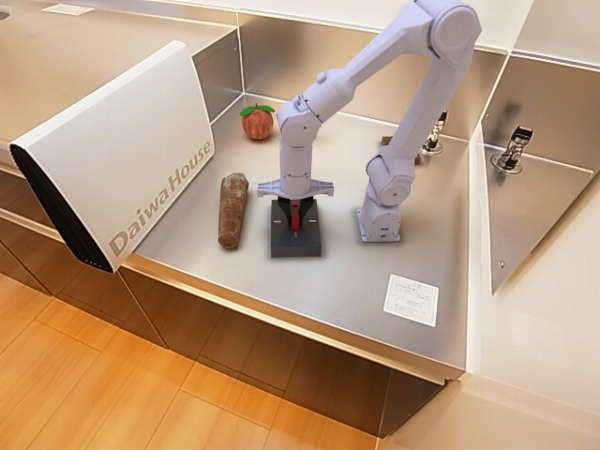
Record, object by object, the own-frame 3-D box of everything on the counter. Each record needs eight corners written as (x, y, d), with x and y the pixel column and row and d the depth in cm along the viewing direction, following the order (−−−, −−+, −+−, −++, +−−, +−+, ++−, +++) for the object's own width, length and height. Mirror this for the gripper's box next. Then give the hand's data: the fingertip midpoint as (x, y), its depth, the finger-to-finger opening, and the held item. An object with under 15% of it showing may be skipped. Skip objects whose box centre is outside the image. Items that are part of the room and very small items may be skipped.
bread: (250, 190, 88) (248, 171, 84) (240, 251, 75) (238, 233, 71) (223, 189, 88) (220, 170, 84) (209, 251, 75) (205, 232, 71)
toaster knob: (298, 229, 75) (299, 216, 73) (291, 229, 75) (292, 216, 72) (298, 213, 78) (298, 200, 76) (291, 214, 78) (291, 201, 76)
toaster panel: (320, 256, 74) (321, 246, 72) (271, 257, 74) (270, 247, 72) (315, 208, 84) (316, 198, 82) (272, 209, 84) (271, 198, 81)
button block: (418, 164, 96) (422, 151, 93) (388, 165, 96) (391, 152, 93) (409, 143, 103) (412, 130, 100) (381, 143, 103) (383, 130, 100)
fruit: (242, 128, 107) (238, 95, 99) (275, 127, 108) (273, 94, 100) (242, 145, 101) (238, 112, 94) (277, 143, 102) (276, 110, 94)
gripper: (333, 153, 70) (328, 206, 79) (256, 154, 69) (260, 207, 79) (337, 177, 65) (331, 230, 75) (254, 178, 64) (259, 231, 74)
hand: (295, 220), depth 76 cm, fingers closed
